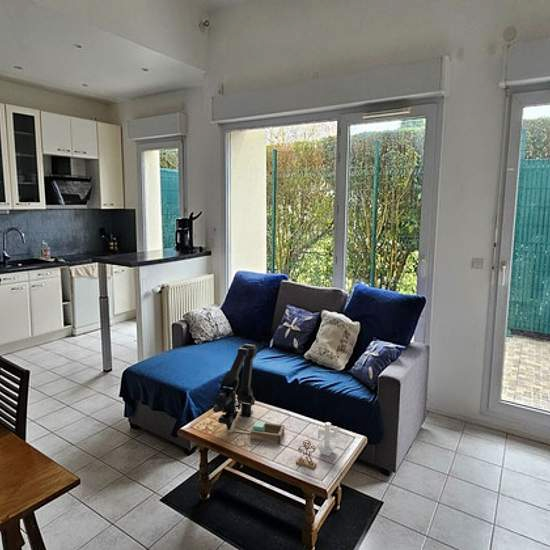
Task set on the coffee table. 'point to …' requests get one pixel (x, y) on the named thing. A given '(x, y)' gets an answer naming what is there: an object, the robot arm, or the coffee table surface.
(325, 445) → the figurine
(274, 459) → the coffee table surface
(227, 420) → the robot arm
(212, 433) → the coffee table surface
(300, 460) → the wire sculpture
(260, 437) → the open wooden tray
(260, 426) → the block with cord
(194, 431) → the coffee table surface
